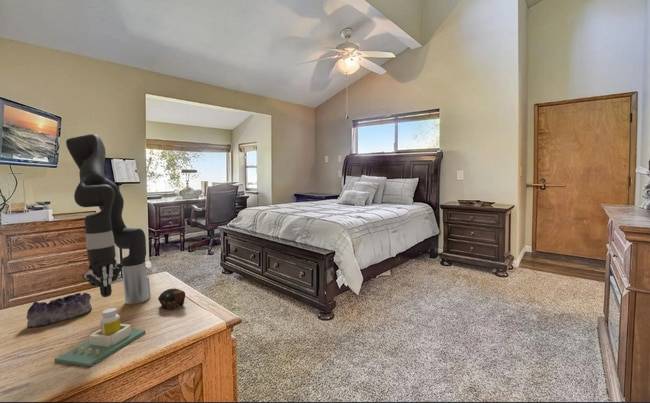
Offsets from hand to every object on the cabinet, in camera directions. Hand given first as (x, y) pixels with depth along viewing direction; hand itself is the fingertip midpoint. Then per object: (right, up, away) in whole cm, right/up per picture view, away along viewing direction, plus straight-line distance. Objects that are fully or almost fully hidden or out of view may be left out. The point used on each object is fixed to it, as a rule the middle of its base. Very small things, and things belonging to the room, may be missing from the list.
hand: (106, 296), depth 105 cm
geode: (-34, -16, +23) cm, 44 cm away
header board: (0, -16, -1) cm, 16 cm away
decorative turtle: (+8, -13, +28) cm, 32 cm away
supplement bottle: (+1, -15, +2) cm, 15 cm away
